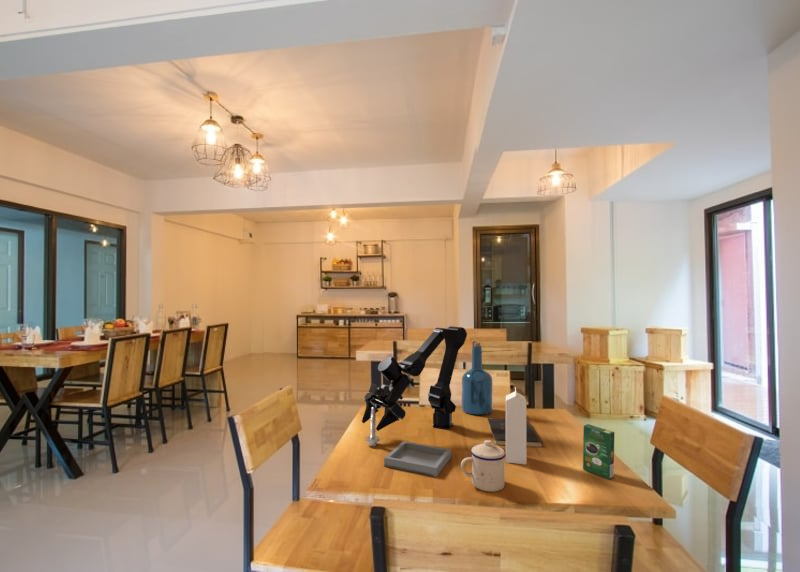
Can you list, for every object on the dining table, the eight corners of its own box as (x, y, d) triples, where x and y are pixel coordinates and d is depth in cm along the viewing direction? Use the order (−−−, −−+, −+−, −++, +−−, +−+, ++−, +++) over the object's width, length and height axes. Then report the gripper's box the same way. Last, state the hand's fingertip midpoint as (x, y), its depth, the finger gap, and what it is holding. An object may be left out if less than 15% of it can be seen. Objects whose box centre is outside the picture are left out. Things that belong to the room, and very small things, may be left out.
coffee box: (615, 478, 110) (615, 431, 110) (610, 480, 108) (610, 433, 108) (587, 467, 116) (587, 423, 116) (582, 470, 115) (582, 425, 115)
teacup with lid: (498, 475, 111) (498, 434, 111) (510, 492, 102) (510, 447, 102) (457, 477, 110) (457, 435, 110) (465, 494, 101) (465, 448, 101)
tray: (451, 457, 123) (451, 449, 123) (436, 477, 110) (436, 468, 110) (403, 448, 130) (403, 441, 130) (384, 466, 116) (384, 457, 116)
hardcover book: (494, 446, 134) (494, 439, 134) (487, 423, 156) (487, 418, 156) (542, 448, 132) (542, 441, 132) (528, 425, 154) (528, 419, 155)
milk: (506, 462, 119) (505, 390, 120) (505, 454, 125) (505, 385, 125) (527, 464, 118) (526, 391, 118) (525, 456, 124) (524, 386, 124)
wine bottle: (461, 406, 178) (461, 340, 179) (490, 407, 177) (490, 341, 178) (462, 415, 165) (462, 344, 165) (494, 417, 163) (494, 345, 164)
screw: (369, 448, 130) (363, 443, 134) (382, 445, 132) (376, 441, 136) (369, 409, 130) (363, 405, 134) (382, 407, 132) (376, 403, 136)
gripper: (368, 370, 143) (341, 405, 136) (398, 379, 128) (369, 419, 121) (386, 388, 148) (361, 423, 141) (417, 399, 133) (390, 439, 126)
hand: (369, 426), depth 132 cm, fingers open, 9 cm apart
